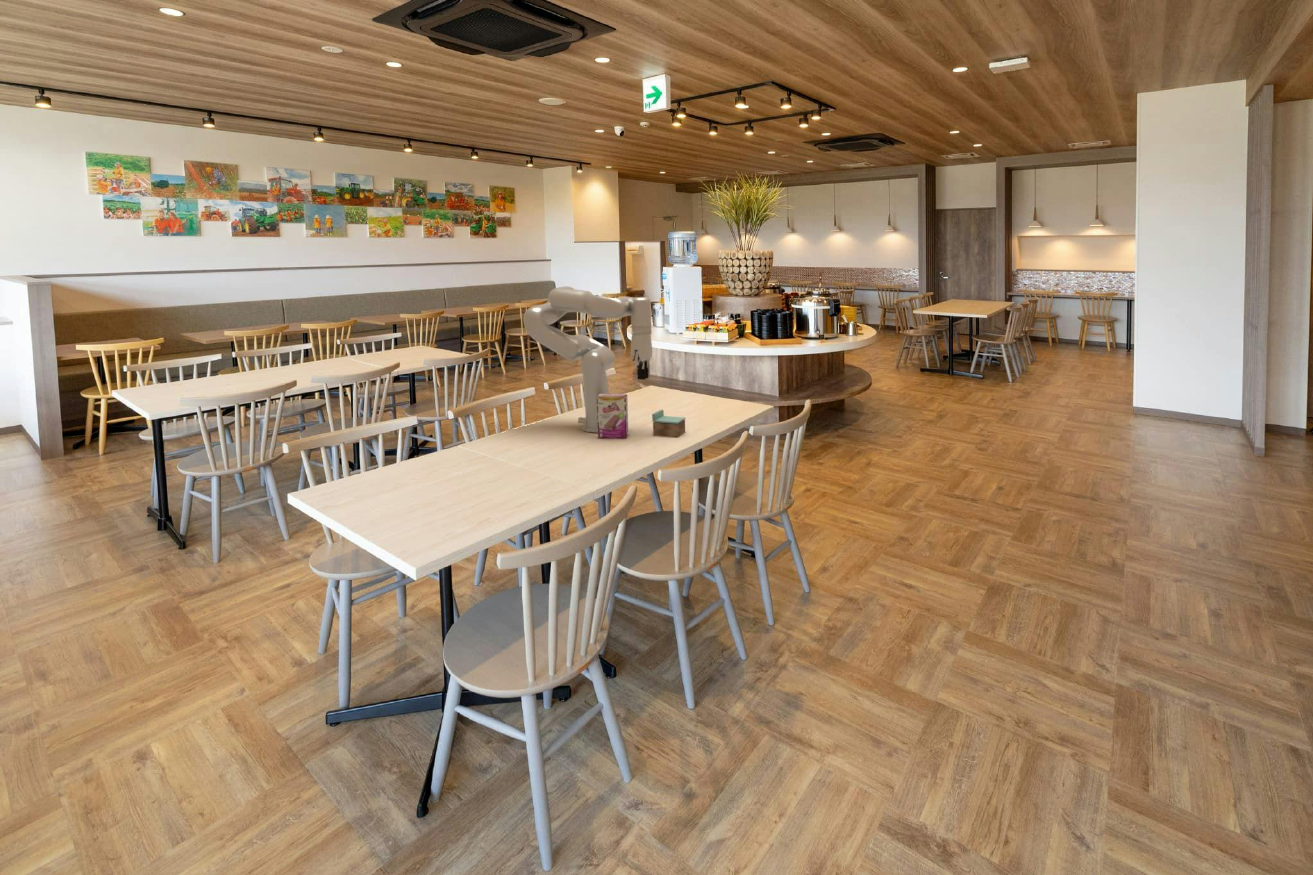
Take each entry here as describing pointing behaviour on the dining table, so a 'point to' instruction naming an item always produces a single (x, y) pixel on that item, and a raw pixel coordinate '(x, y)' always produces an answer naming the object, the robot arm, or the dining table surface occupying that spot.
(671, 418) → the lid
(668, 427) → the brown wooden box
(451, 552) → the dining table surface
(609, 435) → the candy bar box
